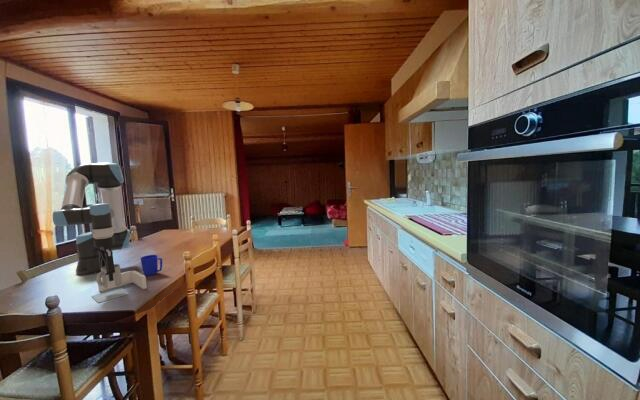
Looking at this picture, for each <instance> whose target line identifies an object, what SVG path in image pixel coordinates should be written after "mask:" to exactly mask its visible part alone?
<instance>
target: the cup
mask: <svg viewBox="0 0 640 400" xmlns="http://www.w3.org/2000/svg"><path fill="white" fill-rule="evenodd" d="M114 268H115V273H114V279H115V287H114V288H116V286H118V285H120V284H121V283H122V279H121V273H122V270H121V265H120V264H119V263H118V264H117V263H116V264H115V263H114ZM111 271H112V270H111ZM106 273H107V271H106V266H104V267H102V268H101V272H97V274H96V283H97V286H98V285H99V286H103V287H104V288H108V285H107V276H106V275H105V274H106ZM101 278H102V282H103V283H102V282H101ZM118 287H119V286H118Z"/></svg>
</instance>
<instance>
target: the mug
mask: <svg viewBox="0 0 640 400" xmlns="http://www.w3.org/2000/svg"><path fill="white" fill-rule="evenodd" d="M158 260H159V266H158ZM140 264H141V267H142V272H143V273H142V274H143V275H144V276H145V277H146V276H153V275H156V274H157V273H158V272H161V271H162V269H163V258H162V257H158V254H149V255H144V256H141V257H140ZM158 268H159V269H158Z"/></svg>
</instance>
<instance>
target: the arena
mask: <svg viewBox="0 0 640 400" xmlns="http://www.w3.org/2000/svg"><path fill="white" fill-rule="evenodd" d="M121 279H122V283H121V284H120V285H118V286H116V287H117V288H119V287H121V286H125V285H129V284H132V283H133V284H135V285H136V286H138V287H139V288H141V289H142V290H144V289H145V290H146V289H147V278H146V275H144V274H143V273H140V272H138V271H136V270H135V269H133V270H129V271H124V272H121ZM101 282H102V277H101ZM102 283H103V282H102ZM97 287H98V291H99V292H103V291H107V290H111V289H114V288H116V287H113V288H109V289H108V288H104V287H103V286H99V285H98V284H97Z"/></svg>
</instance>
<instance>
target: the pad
mask: <svg viewBox="0 0 640 400" xmlns="http://www.w3.org/2000/svg"><path fill="white" fill-rule="evenodd" d="M127 295H130V292H128V291H127V290H125V289H124V288H122V287H117V288H115V289H112V290H111V289H110V290H108V291H107V290H106V291H105V292H101V293H97V294H94V295H91V298H92V299H93V301H95V302H96V303H97V304H99V303H103V302H106V301H110V300H114V299H117V298H120V296H121V297H123V296H127Z"/></svg>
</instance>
